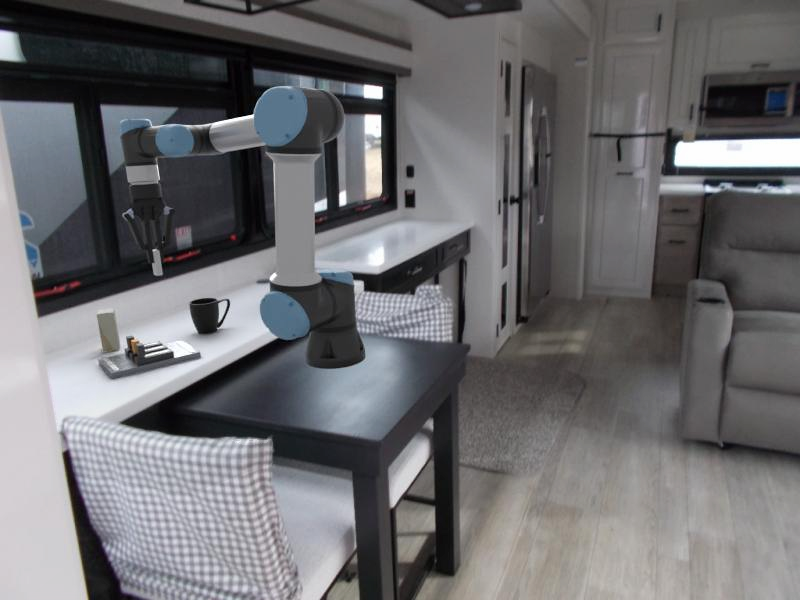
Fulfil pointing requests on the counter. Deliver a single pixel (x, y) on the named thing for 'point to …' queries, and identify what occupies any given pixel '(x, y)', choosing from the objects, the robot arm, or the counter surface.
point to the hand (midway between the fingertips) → (158, 274)
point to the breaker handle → (134, 345)
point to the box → (108, 330)
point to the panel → (131, 365)
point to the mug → (207, 314)
